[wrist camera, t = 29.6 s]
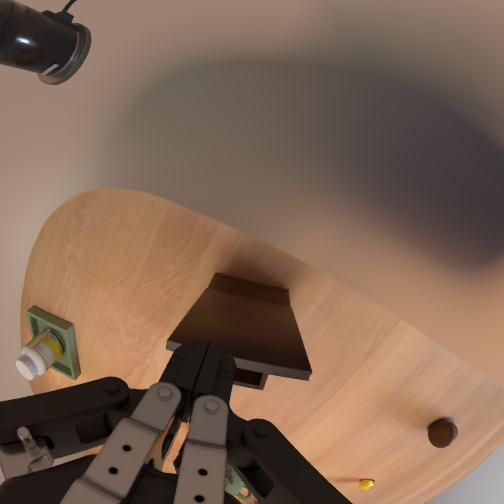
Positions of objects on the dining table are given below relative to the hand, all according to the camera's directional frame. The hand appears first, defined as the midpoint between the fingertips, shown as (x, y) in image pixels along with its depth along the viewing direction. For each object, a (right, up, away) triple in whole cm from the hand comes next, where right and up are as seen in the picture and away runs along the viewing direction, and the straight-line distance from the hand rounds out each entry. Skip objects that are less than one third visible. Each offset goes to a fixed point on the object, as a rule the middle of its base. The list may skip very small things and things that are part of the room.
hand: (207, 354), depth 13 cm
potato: (+49, -38, +36) cm, 71 cm away
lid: (+1, -2, +13) cm, 14 cm away
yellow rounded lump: (+35, -60, +43) cm, 82 cm away
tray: (-39, -14, +35) cm, 54 cm away
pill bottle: (-39, -13, +34) cm, 54 cm away
